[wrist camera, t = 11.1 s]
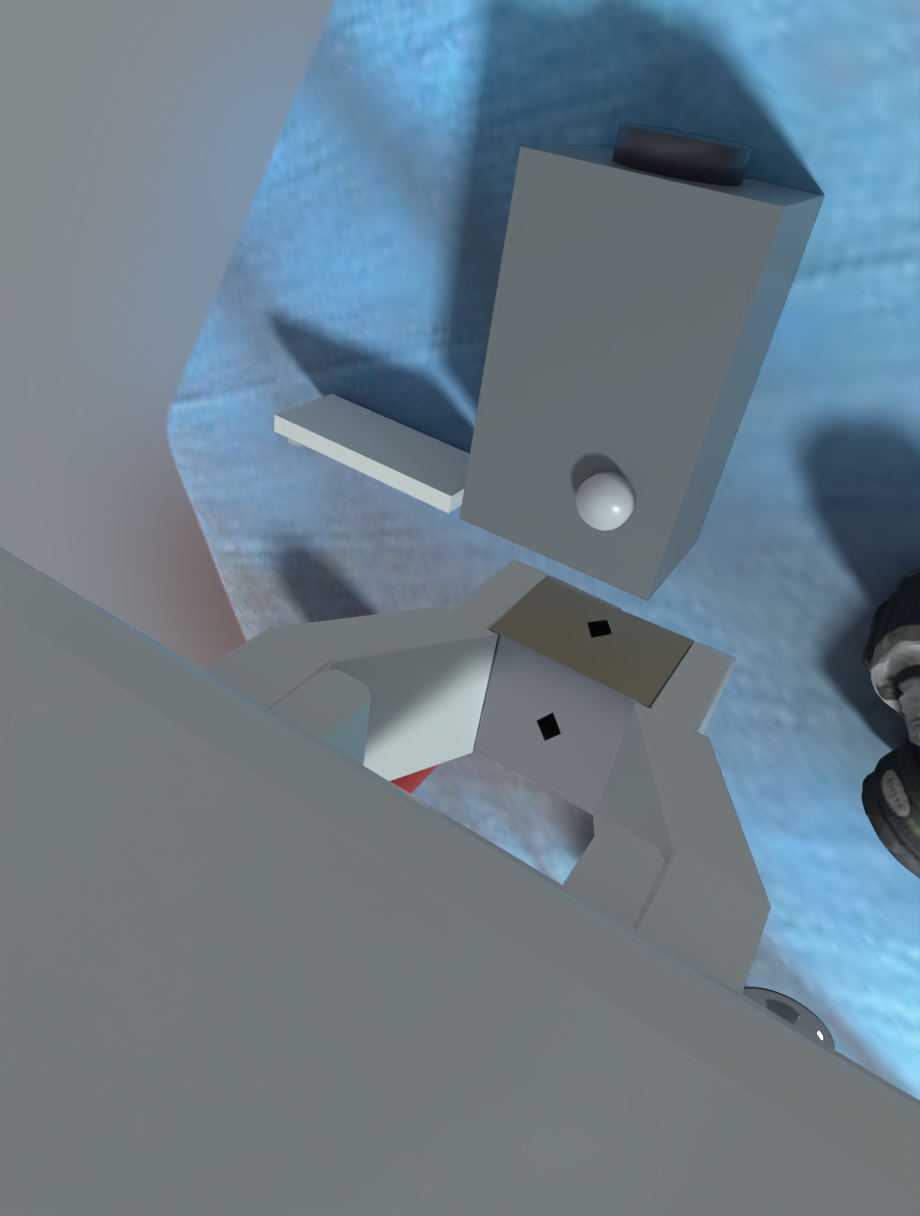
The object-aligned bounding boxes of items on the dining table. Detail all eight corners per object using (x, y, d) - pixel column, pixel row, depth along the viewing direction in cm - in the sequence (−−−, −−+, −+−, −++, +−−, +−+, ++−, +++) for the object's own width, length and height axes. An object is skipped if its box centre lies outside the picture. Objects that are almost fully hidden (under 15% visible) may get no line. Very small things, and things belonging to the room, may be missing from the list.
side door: (330, 418, 49) (274, 440, 45) (331, 393, 48) (274, 414, 45) (493, 491, 45) (446, 523, 41) (499, 466, 44) (451, 496, 40)
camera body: (597, 112, 34) (511, 107, 28) (837, 160, 30) (793, 166, 25) (522, 472, 44) (447, 522, 38) (695, 542, 40) (641, 608, 35)
